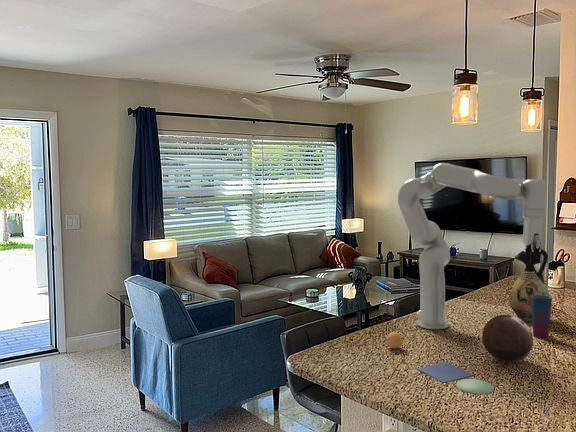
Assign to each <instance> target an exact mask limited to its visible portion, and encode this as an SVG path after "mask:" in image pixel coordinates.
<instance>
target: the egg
mask: <svg viewBox="0 0 576 432" xmlns="http://www.w3.org/2000/svg"><path fill="white" fill-rule="evenodd" d="M403 338H404V337H403V336H402V335H401V334H400V333H399V332H397V331H393V332H390V333H389V334H388V335H387V337H386V344H387V345H388V347H390V348H391V349H394V350H395V349H396V350H397V349H399V348H401V346H402V345H403V343H404V339H403Z"/></svg>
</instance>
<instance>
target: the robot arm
mask: <svg viewBox="0 0 576 432" xmlns="http://www.w3.org/2000/svg"><path fill="white" fill-rule="evenodd" d="M547 182H548V181H546V180H545V179H543V178H542V179H541V178H540V179H537V178H535V179H532V178H530V179H519V178H509V177H508V178H507V177H502V176H498V175H495V174H494V175H493V174H489V173H485V172H482V171H481V170H479V169H476V168H475V169H474V168H470V167H465V166H461V165H455V164H451V163H448V162H446V163H445V162H439V163H437V164H435V165H434V166H433V167H432V169H431V171H430V172H428V173H427V174H425V175H423V176H421V177H412V178H410V179H408V180H406V181H404V183H403V184H402V186H400V189H399V191H398V194H397V201H398V206H399V209H400V212H401V214H402V216H403V219H404V221H405V224H406V227H407V230H408V232H409V234H410V237H411V239H412V241H413V243H415V244H416V245H418V246H422V247H423V250H422V252H421V253H420V255H419V257H418V268H419V270H418V271H419V279H420V281H419V282H420V283H419V286H420V287H419V289H420V290H419V292H420V293H419V294H420V299H419V301H420V305H419V306H420V309H419V310H418V311H417V312H415V316H417V317H418V319H417V320H416V321H415V322H416V325H417V327H419V328H423V329H427V330H443V329H447V328H449V327H450V323H449V321H447V320H446V278H445V275H446V274H445V267H446V266H447V265H448V263H449V262H450V260H451V252H450V250H449V247H448V244H447V243H446V239H445V238H444V235H443V233H442V231H441V229H440V227H439V225H438V224H437V223H436V222H434V221H432V220H429V219H428V217H427V214H426V211H425V209H424V207H423V206H422V204H421V201H420V199H425V198H428V197H430V196H432V195H434V194H435V193H437V192H439V191H441V190H442V189H444V188H446V187H449V188H453V189H459V190H463V191H467V192H471V193H475V194H480V195H484V196H488V197H493V198H496V199H501V200H507V201H511V200H512V201H513V200H516V199H522V218H523V219H524V221H523V234H522V243H523V244H524V245H525V248H524V252H525V258H526V259H530V262H531V263H539V264H542V263H541V262H542V259H541V258H542V254H541V249H542V248H541V246H542V245H543V236H544V234H543V230H544V229H543V228H544V225H543V224H544V222H543V219H546V218H547V217H546V216H547V198H548V197H547V191H548V190H547V189H548V183H547Z"/></svg>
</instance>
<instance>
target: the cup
mask: <svg viewBox="0 0 576 432" xmlns="http://www.w3.org/2000/svg"><path fill="white" fill-rule="evenodd" d="M531 300H532V320H533V322H532V336H533V338H537V339H549V335H550V334H549V333H550V323H551V310H552V301H553V297H552V296H551V295H550V296H548V295H539V294H536V295H532V296H531Z"/></svg>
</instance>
